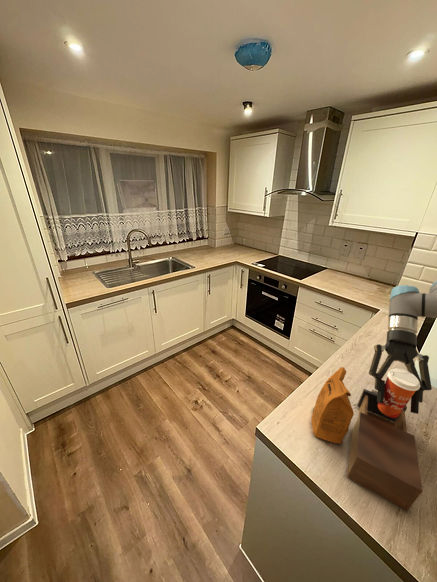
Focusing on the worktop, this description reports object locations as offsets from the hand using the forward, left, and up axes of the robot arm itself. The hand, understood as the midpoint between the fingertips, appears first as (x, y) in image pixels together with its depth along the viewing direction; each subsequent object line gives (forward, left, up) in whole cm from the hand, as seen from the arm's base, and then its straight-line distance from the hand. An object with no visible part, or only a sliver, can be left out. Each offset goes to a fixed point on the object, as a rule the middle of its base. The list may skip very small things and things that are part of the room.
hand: (396, 407), depth 68 cm
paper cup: (+1, -3, -5) cm, 6 cm away
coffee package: (+15, +4, -15) cm, 22 cm away
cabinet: (+1, +10, -15) cm, 18 cm away
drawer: (+1, -6, -14) cm, 15 cm away
